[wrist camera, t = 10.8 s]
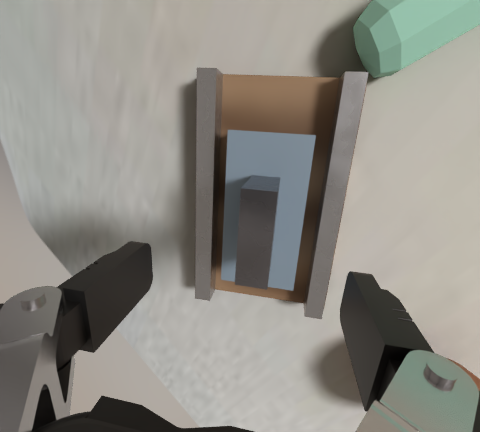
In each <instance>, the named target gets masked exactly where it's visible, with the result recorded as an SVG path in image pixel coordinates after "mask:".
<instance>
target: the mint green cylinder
mask: <svg viewBox="0 0 480 432" xmlns="http://www.w3.org/2000/svg"><path fill="white" fill-rule="evenodd" d="M478 25H480V0H372V1H371V2H370V4H369V5H368V6H367V8H366V9H365V10H364V12H363V13H362V14H361V15H360V17H359V18H358V20H357V21H356V23H355V25H354V27H353V32H354V39H355V46H356V50H357V52H358V54H359V57H360V59H361V61H362V64H363V66H364V68H365V69H366V70H367V71H368V72H369V73H370V74H371V75H372V76H373V78H377V77H384V76H391V75H392V74H394V73H396V72H398V71H399V70H401V69H403V68H405V67H406V66H408V65H410V64H412V63H413V62H415V61H417V60H419V59H420V58H422V57H424V56H426V55H427V54H429V53H431V52H433V51H434V50H436V49H438V48H440V47H441V46H443V45H445V44H447V43H448V42H450V41H452V40H454V39H455V38H457V37H459V36H461V35H462V34H464V33H466V32H468V31H469V30H471V29H473V28H474V27H476V26H478Z"/></svg>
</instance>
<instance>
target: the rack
mask: <svg viewBox="0 0 480 432" xmlns="http://www.w3.org/2000/svg"><path fill="white" fill-rule="evenodd" d="M368 73H369V72H348V71H345V72H344V73H343V75H342V76H341V77H340V78H332V77H297V76H263V75H228V74H222V73H221V72H220V71H219V70H218V69H217V68H197V116H196V246H195V298H196V299H202V300H208V301H210V299H211V297H212V295H213V293H214V291H215V289H217V290H224V291H230V292H236V293H243V294H249V295H255V296H262V297H268V298H274V299H281V300H287V301H293V302H300V303H304V314H305V317H311V318H317V319H322V314H323V309H324V306H325V300H326V295H327V290H328V285H329V279H330V274H331V269H332V264H333V258H334V253H335V248H336V243H337V237H338V232H339V227H340V222H341V216H342V211H343V206H344V201H345V196H346V190H347V185H348V180H349V175H350V169H351V164H352V159H353V154H354V148H355V143H356V138H357V133H358V127H359V122H360V117H361V112H362V106H363V101H364V96H365V91H366V85H367V80H368V79H367V78H368ZM228 130H241V131H257V132H273V133H288V134H304V135H316V138H315V145H314V152H313V159H312V166H311V172H310V179H309V186H308V193H307V200H306V207H305V214H304V220H303V227H302V234H301V241H300V248H299V255H298V262H297V268H296V275H295V282H294V289H293V291H291V290H285V289H278V288H272V287H268V288H267V290H266V289H259V288H253V287H246V286H240V285H235V282H233V281H226V280H221V269H222V247H223V224H224V202H225V180H226V158H227V136H228Z"/></svg>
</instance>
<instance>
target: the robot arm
mask: <svg viewBox="0 0 480 432" xmlns="http://www.w3.org/2000/svg"><path fill="white" fill-rule="evenodd" d="M152 280H153V272H152V255H151V247H150V245H149V244H148V243H140V242H133V241H130V242H128V243H127V244H125V245H124V246H122V247H121V248H120V249H118V250H117V251H115V252H112V253H110V254H107V255H104V256H103V257H101V258H100V259H98V260H97V261H95V262H94V264H91V265H89V266H88V267H86V269H83V270H82V271H80V272H79V273H77V274H76V275H74V276H73V277H71V278H70V279H68V280H67V281H65V282H64V283H62V284H61V285H59V286H58V287H52V286H45V287H37V288H32V289H29V290H26V291H23V292H21V293H19V294H17V295H15V296H13V297H11V298H10V299H9V300H8V301H6V302H5V303H4V304H0V432H254V431H249V430H245V429H241V428H237V427H232V426H221V427H202V428H178V427H176V426H175V425H173V424H171V423H170V422H168V421H166V420H165V419H163V418H162V417H160V416H158V415H157V414H155V413H153V412H152V411H150V410H149V409H147V408H145V407H144V406H142V405H139V404H135V403H131V402H126V401H122V400H118V399H114V398H109V397H105V396H101V398H100V399H99V400H98V402H97V403H96V405H95V406H94V408H93V409H92V410H91V412H83V413H78V414H74V415H70V406H71V396H72V386H73V376H74V366H75V359H74V354H75V353H76V352H77V351H78V350H83V351H88V352H93V353H94V352H95V351H96V350H97V349H98V347H100V345H101V344H102V343H103V342H104V341H105V340H106V338H107V337H108V336H109V335H110V334H111V333H112V332H113V331H114V329H115V328H116V327H117V326H118V325H119V324H120V323H121V321H122V320H123V319H124V318H125V317H126V316H127V315H128V314H129V312H130V311H131V310H132V309H133V308H134V307H135V306H136V304H137V303H138V302H139V301H140V300H141V299H142V298H143V296H144V295H145V294H146V293H147V292H148V291H149V289H150V287H151V284H152ZM340 322H341V326H342V330H343V333H344V337H345V341H346V344H347V348H348V352H349V355H350V359H351V362H352V366H353V370H354V373H355V377H356V381H357V384H358V388H359V391H360V395H361V399H362V402H363V406H364V410H365V411H368V412H367V413H366V415H365V417H364V418H363V420H362V422H361V423H360V425H359V427H358V428H357V430H356V432H480V391H479V390H478V388H477V386H476V384H475V382H474V381H473V380H472V378H471V377H470V376H469V375H468V374H467V373H466V372H465V371H464V370H463V369H461V368H460V367H459V366H458V365H456V364H455V363H453V362H452V361H450V360H448V359H447V358H445V357H442V356H440V355H438V354H435V353H434V352H433V350H432V349H431V347H430V346H429V344H428V343H427V341H426V340H425V338H424V337H423V335H422V333H421V332H420V330H419V329H418V327H417V326H416V324H415V323H414V322H412V318H411V317H410V315H409V314H408V313H407V312H406V309H405V308H404V306H403V305H402V303H401V302H400V300H399V299H398V298H396V297H395V296H394V295H393V294H391V293H390V292H389V291H388V290H384V289H381V288H380V287H379V285H378V283H377V282H376V280H375V278H374V277H373V275H372V274H366V273H358V272H351V271H350V272H349V273H348V276H347V280H346V284H345V289H344V293H343V298H342V303H341V308H340Z"/></svg>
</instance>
